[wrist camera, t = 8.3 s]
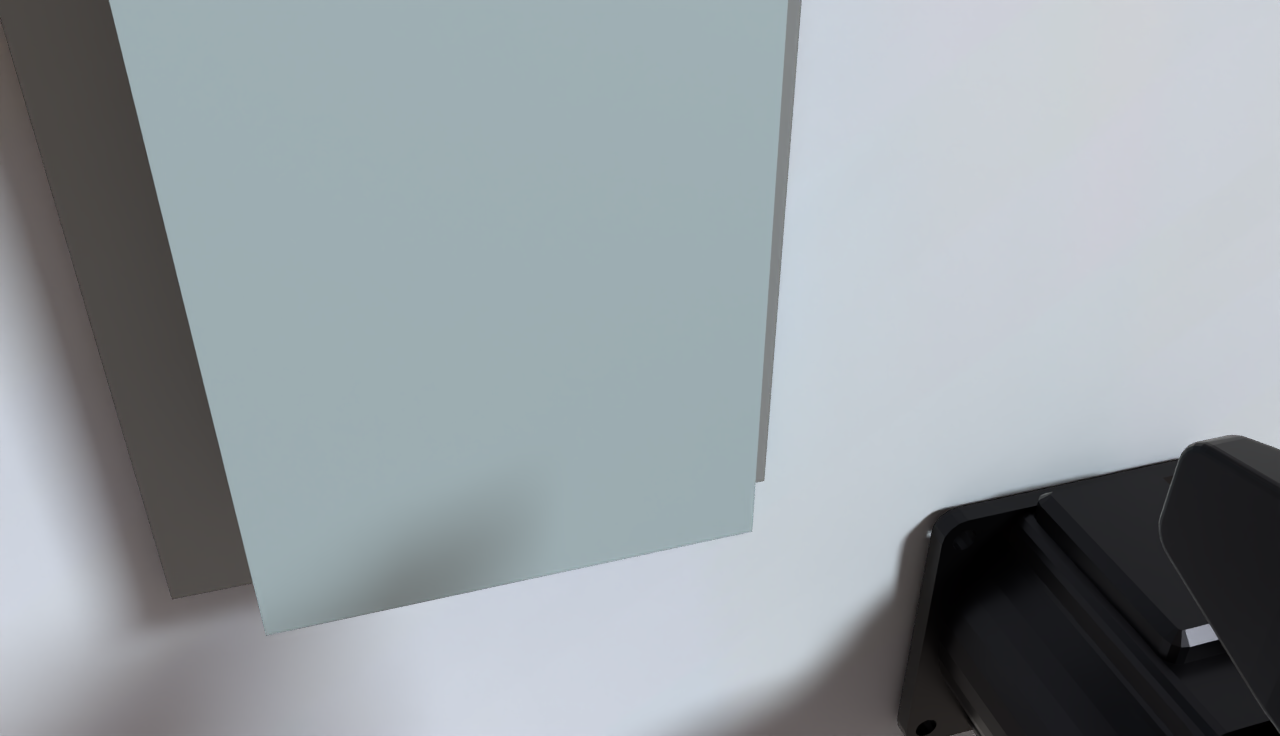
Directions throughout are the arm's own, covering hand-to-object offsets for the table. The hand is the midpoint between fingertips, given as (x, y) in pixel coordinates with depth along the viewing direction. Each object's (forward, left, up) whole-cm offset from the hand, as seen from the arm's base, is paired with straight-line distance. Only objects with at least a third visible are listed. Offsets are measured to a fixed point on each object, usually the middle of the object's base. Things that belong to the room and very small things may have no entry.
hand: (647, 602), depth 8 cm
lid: (0, 0, -9) cm, 9 cm away
